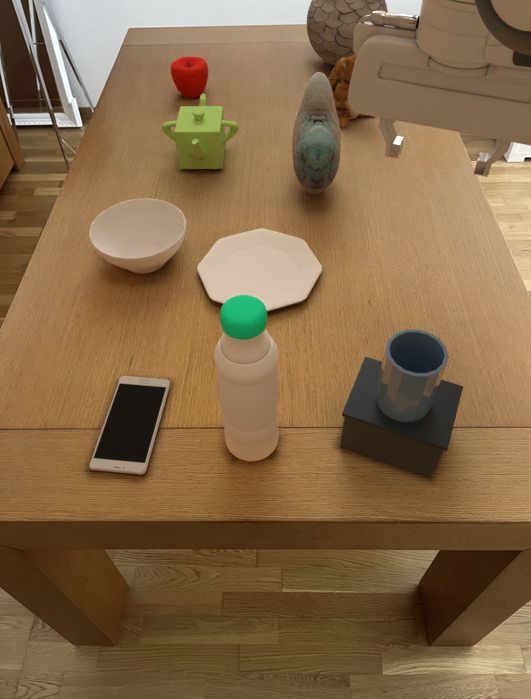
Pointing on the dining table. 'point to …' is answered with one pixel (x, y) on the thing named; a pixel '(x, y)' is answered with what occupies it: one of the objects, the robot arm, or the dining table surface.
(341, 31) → the decorative sphere
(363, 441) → the container
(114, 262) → the bowl
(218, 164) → the teapot
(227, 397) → the water bottle
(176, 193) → the dining table surface
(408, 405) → the cup
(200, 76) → the apple
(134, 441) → the smartphone
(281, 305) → the plate
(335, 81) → the stuffed squirrel
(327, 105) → the decorative stone
